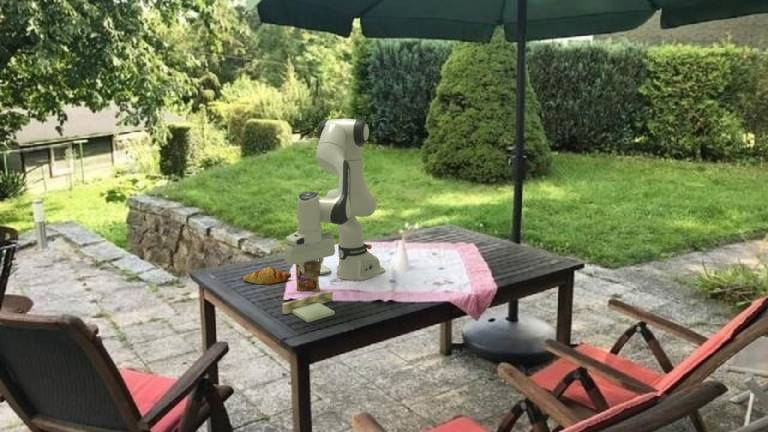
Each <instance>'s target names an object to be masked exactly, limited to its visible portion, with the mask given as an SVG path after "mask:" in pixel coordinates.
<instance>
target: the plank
mask: <svg viewBox="0 0 768 432" xmlns="http://www.w3.org/2000/svg"><path fill="white" fill-rule="evenodd" d="M333 297H334V296H333V291H332V290H327V291H323V292H320V293H316V294H313V295H309V296H305V297H302V298H298V299H294V300H290V301H287V302H283V303H282V305H281V306H282V314H284V315H287V314H291V313H292V309H296V308H300V307H303V306H307V305H310V304H314V303H318V302H319V303H320V304H322V305H324V304H326V303H331V302H334V300H333Z"/></svg>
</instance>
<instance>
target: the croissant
mask: <svg viewBox="0 0 768 432" xmlns="http://www.w3.org/2000/svg"><path fill="white" fill-rule="evenodd" d="M291 278H292V273H290V272H289V273H287V272H286V271H280V270H279V269H275V268H274V267H272V266H267V267H264V268H262V269H258V270H255V271H253V272H250V273H248V274H246V275H243V277H242V279H243V280H244V281H245V282H247V283H251V284H257V285H272V284H275V283H281V282H285V281H287V280H289V279H291Z"/></svg>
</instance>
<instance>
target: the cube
mask: <svg viewBox="0 0 768 432" xmlns="http://www.w3.org/2000/svg"><path fill="white" fill-rule="evenodd" d="M303 267H305V268H307V270H306V271H307V272H306V273H302V275H304V276H306V277H308V278H312V277H316V276H319V277H320V276H321V274H320V263H319V262H317V261H315V260H311V261H307V262H304V265H303Z"/></svg>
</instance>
